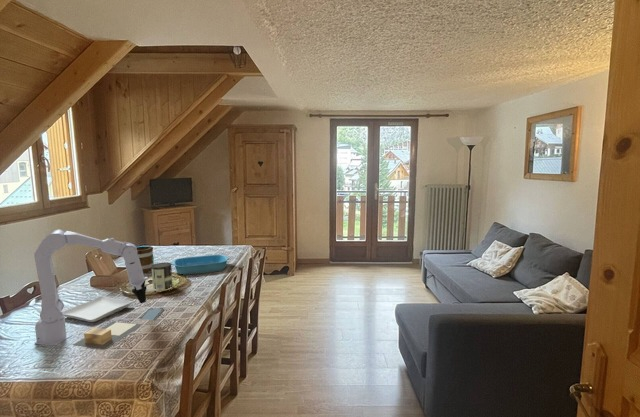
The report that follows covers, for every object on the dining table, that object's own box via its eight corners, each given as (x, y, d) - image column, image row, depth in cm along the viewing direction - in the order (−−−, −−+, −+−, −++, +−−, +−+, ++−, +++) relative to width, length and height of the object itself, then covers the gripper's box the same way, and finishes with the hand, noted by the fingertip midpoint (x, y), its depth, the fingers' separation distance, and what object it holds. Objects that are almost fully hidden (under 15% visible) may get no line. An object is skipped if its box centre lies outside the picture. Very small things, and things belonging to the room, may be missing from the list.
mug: (153, 272, 220) (151, 249, 219) (129, 274, 216) (128, 251, 214) (156, 263, 239) (154, 243, 237) (134, 266, 234) (133, 244, 232)
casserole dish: (227, 262, 244) (226, 252, 243) (232, 271, 223) (232, 260, 222) (171, 268, 229) (170, 258, 228) (171, 278, 209) (170, 267, 208)
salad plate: (59, 319, 154) (58, 312, 154) (103, 301, 174) (102, 295, 173) (92, 327, 147) (91, 319, 146) (134, 307, 167) (133, 301, 166)
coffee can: (170, 284, 198) (169, 261, 196) (174, 290, 189) (173, 265, 187) (151, 288, 192) (149, 264, 190) (154, 293, 184) (152, 268, 182)
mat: (72, 346, 131) (72, 344, 131) (112, 322, 150) (112, 321, 150) (106, 349, 128) (106, 348, 128) (142, 325, 148) (142, 324, 148)
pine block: (85, 342, 132) (84, 333, 132) (94, 337, 137) (93, 327, 136) (102, 344, 131) (101, 335, 131) (111, 338, 135) (111, 329, 135)
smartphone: (134, 323, 149) (148, 308, 164) (134, 325, 149) (148, 310, 164) (152, 322, 149) (164, 308, 164) (152, 324, 150) (164, 309, 164)
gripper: (145, 272, 142) (153, 301, 145) (144, 263, 155) (151, 290, 158) (127, 277, 139) (135, 307, 142) (126, 268, 151) (134, 296, 154)
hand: (142, 299), depth 149 cm, fingers open, 7 cm apart
